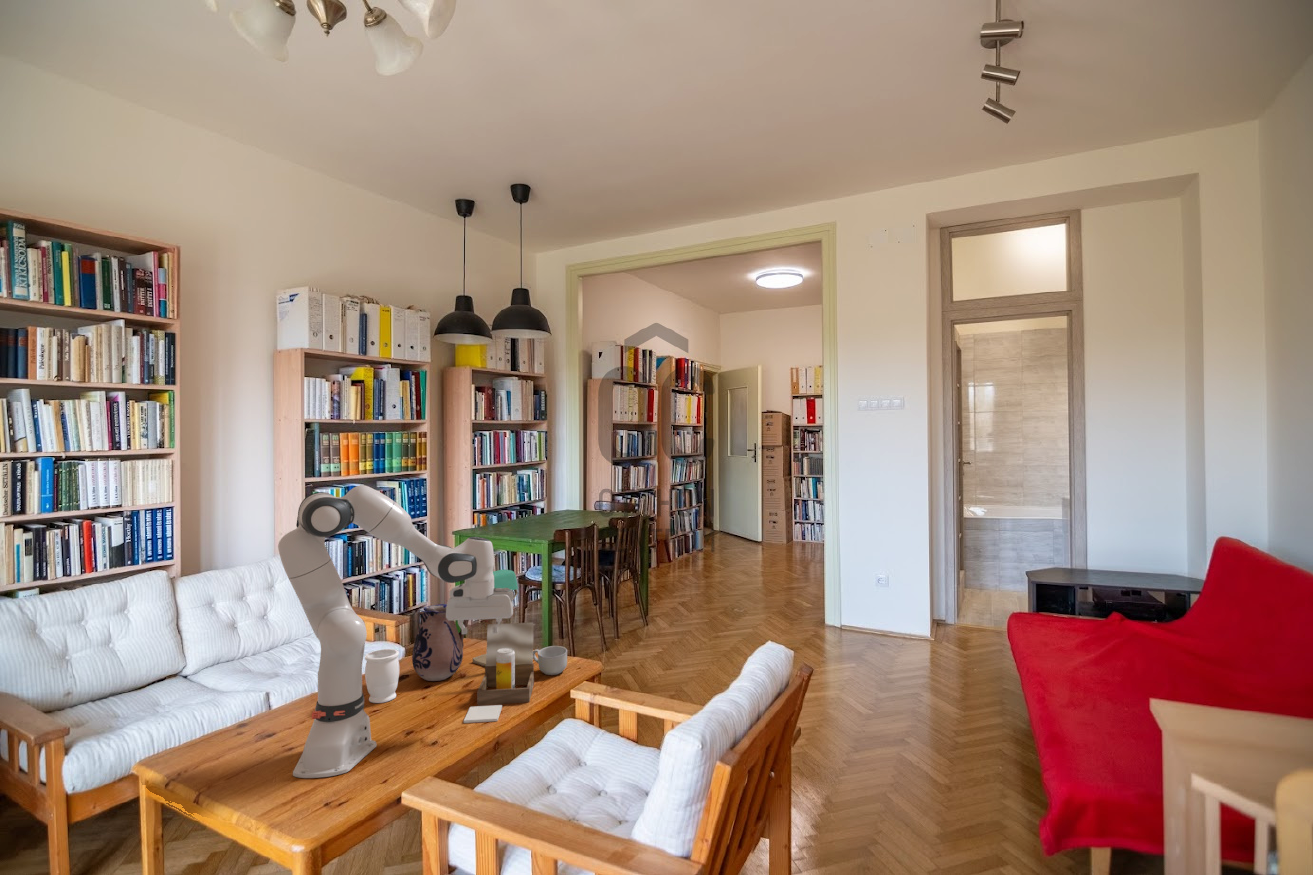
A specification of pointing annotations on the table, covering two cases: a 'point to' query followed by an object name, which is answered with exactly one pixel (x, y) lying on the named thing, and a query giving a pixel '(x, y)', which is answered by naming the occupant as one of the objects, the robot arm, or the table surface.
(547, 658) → the teacup
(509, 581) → the banker's lamp
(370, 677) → the jar
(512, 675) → the beer can
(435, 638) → the ceramic pitcher
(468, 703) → the table surface
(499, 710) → the stone tile
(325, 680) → the robot arm
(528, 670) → the box
